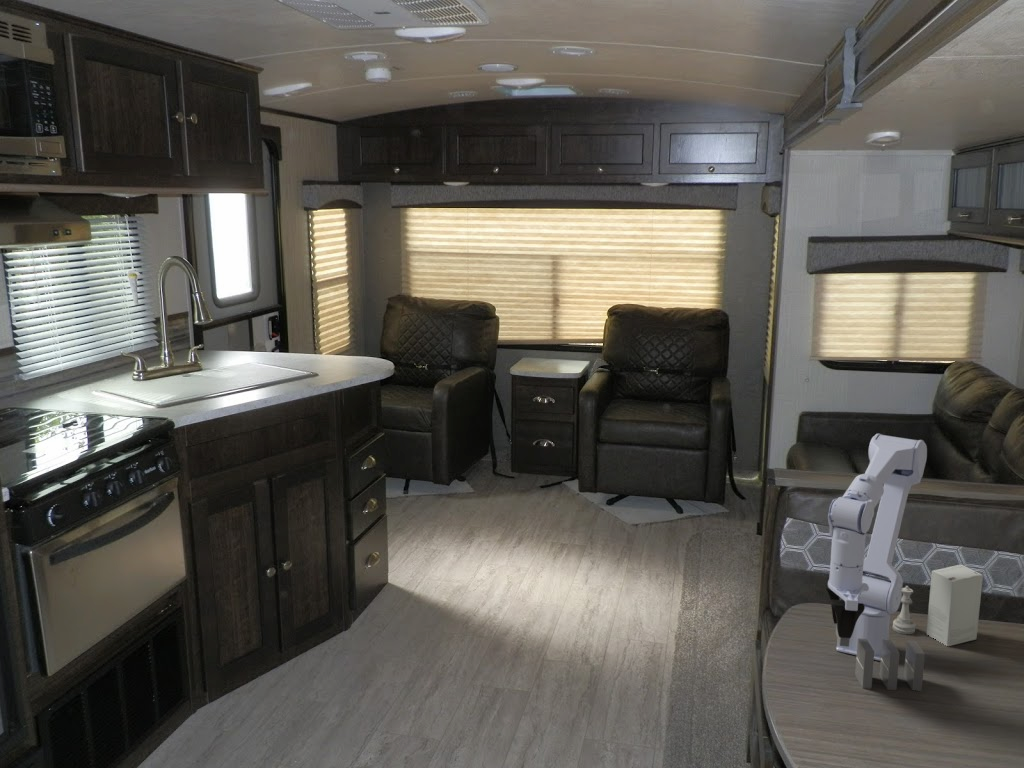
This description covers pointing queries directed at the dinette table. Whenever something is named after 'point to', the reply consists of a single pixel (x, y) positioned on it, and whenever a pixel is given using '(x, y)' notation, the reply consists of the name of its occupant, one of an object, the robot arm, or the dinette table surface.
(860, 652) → the domino
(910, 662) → the domino
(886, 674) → the domino
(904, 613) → the chess piece
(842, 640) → the domino
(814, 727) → the dinette table surface
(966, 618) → the skincare box
